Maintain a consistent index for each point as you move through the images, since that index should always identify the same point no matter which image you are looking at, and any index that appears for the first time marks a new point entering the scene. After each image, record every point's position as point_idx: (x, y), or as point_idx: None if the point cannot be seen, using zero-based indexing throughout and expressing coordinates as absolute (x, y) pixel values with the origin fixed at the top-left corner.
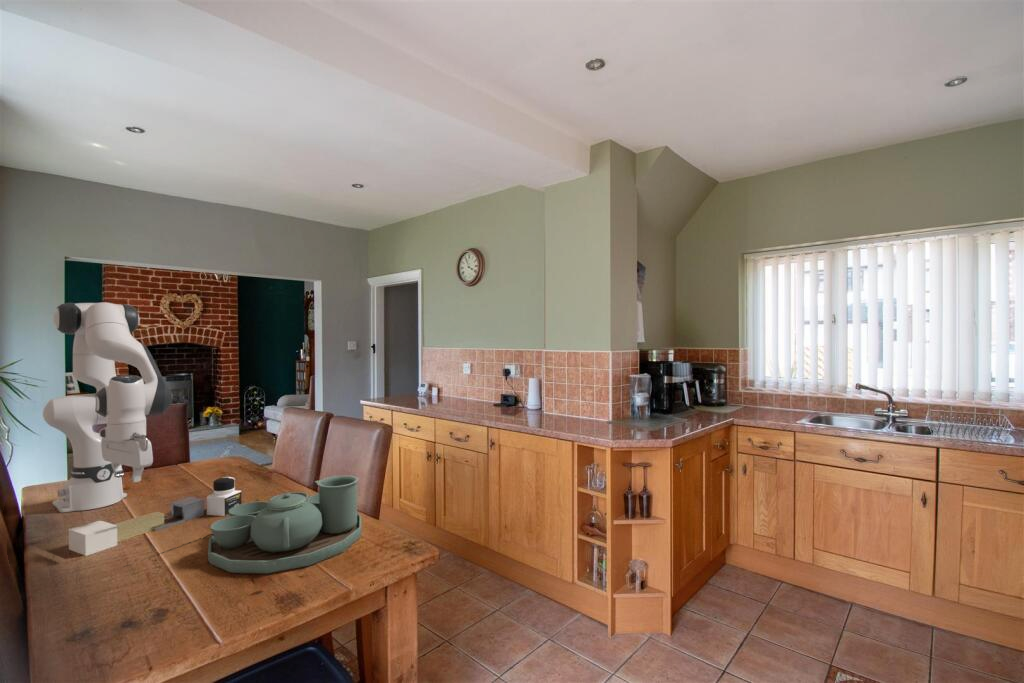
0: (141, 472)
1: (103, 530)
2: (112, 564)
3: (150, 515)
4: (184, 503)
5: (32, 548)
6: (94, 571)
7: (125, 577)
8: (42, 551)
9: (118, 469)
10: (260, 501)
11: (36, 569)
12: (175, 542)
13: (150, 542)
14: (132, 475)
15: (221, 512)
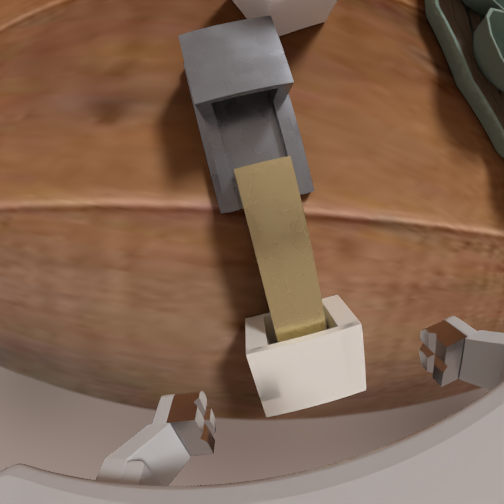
0: (500, 339)
1: (362, 354)
2: (421, 313)
3: (272, 199)
4: (265, 73)
5: None
6: None
7: (484, 299)
8: None
9: (173, 448)
10: (492, 10)
11: (311, 415)
12: (411, 176)
13: (359, 220)
14: (443, 381)
15: (321, 15)
